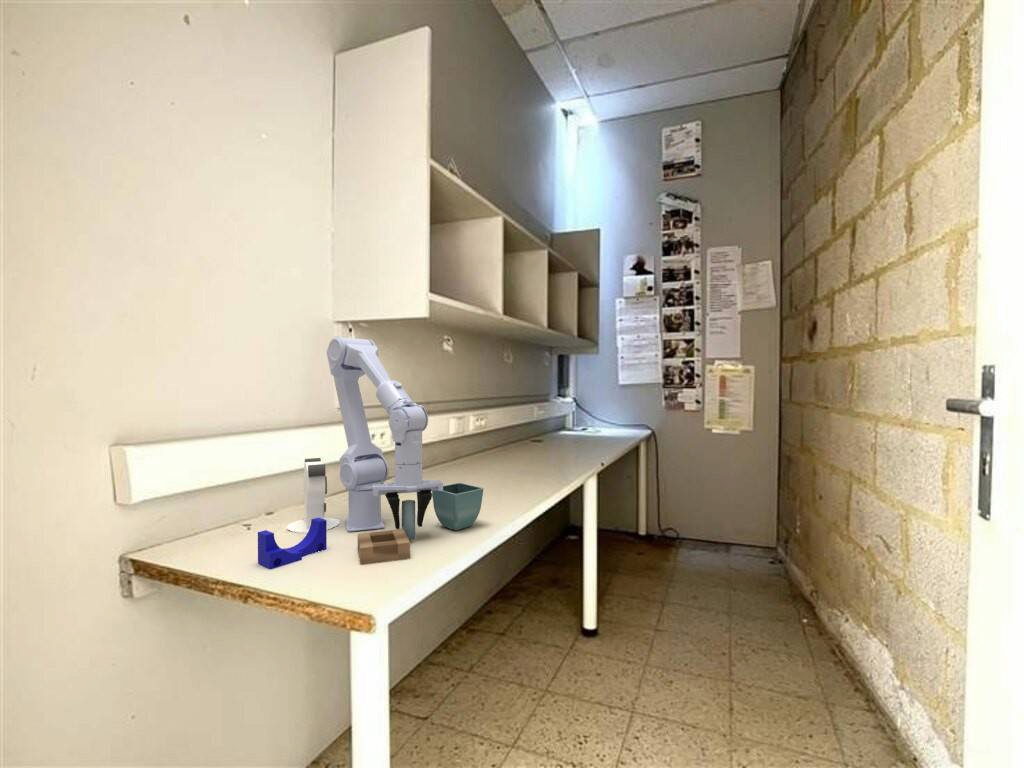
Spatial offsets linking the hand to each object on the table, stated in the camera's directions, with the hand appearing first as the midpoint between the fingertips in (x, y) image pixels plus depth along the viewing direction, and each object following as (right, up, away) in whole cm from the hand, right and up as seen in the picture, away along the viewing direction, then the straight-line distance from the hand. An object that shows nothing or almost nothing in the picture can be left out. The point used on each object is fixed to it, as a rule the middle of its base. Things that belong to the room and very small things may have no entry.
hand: (408, 526), depth 104 cm
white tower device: (-24, -3, +9) cm, 26 cm away
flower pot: (+9, -3, +9) cm, 13 cm away
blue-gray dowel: (0, -3, 0) cm, 3 cm away
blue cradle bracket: (-19, -3, -11) cm, 22 cm away
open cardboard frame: (-3, -3, -9) cm, 10 cm away
